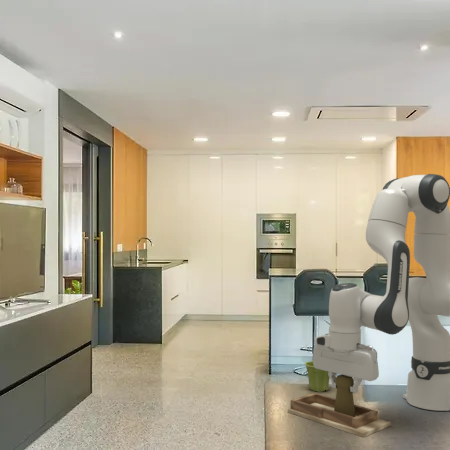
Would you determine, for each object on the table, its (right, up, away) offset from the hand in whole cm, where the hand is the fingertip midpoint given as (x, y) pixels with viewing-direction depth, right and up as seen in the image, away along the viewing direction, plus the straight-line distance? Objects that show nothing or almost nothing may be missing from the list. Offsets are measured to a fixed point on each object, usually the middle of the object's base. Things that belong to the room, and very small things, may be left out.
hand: (344, 390), depth 154 cm
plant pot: (-2, -9, +31) cm, 32 cm away
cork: (0, -7, 0) cm, 7 cm away
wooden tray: (-2, -9, +1) cm, 9 cm away
